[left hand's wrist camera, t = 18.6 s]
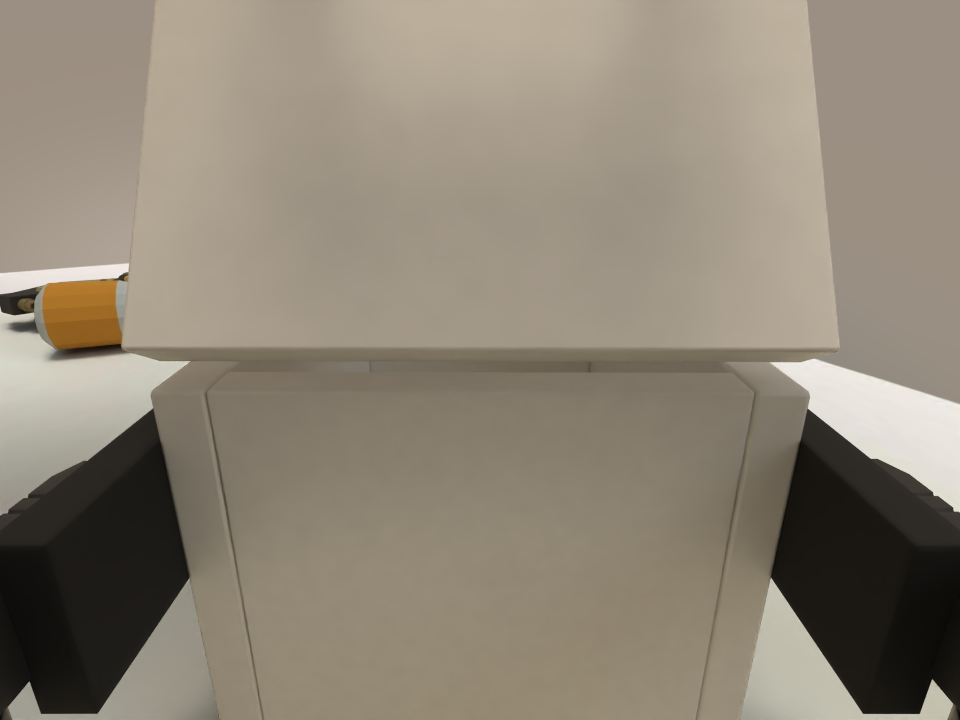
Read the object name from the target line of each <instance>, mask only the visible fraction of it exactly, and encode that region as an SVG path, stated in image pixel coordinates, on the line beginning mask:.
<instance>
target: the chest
mask: <svg viewBox="0 0 960 720" xmlns="http://www.w3.org/2000/svg"><path fill="white" fill-rule="evenodd" d="M151 399H152V404H153V409H154V413H155V418H156V423H157V427H158V432H159V437H160V442H161V446H162V451H163V456H164V460H165V465H166V470H167V475H168V479H169V484H170V489H171V493H172V498H173V503H174V507H175V512H176V517H177V521H178V526H179V531H180V535H181V540H182V545H183V549H184V554H185V559H186V563H187V568H188V573H189V578H190V583H191V588H192V592H193V597H194V602H195V606H196V611H197V616H198V621H199V625H200V630H201V635H202V639H203V644H204V649H205V654H206V658H207V663H208V668H209V672H210V677H211V682H212V686H213V691H214V696H215V701H216V705H217V710H218V715H219V719H220V720H740V716H741V712H742V707H743V703H744V698H745V693H746V689H747V684H748V680H749V675H750V670H751V666H752V661H753V657H754V652H755V647H756V643H757V638H758V634H759V629H760V624H761V620H762V615H763V611H764V606H765V601H766V597H767V592H768V588H769V583H770V578H771V574H772V569H773V565H774V560H775V555H776V551H777V546H778V542H779V537H780V532H781V528H782V523H783V519H784V514H785V509H786V505H787V500H788V496H789V491H790V486H791V482H792V477H793V473H794V468H795V463H796V459H797V454H798V449H799V445H800V440H801V436H802V431H803V426H804V422H805V417H806V413H807V408H808V403H809V399H810V395H809V392H808V391H807V390H806V389H804V388H803V387H802V386H800V385H799V384H798V383H796V382H795V381H794V380H792V379H791V378H790V377H788V376H787V375H786V374H784V373H783V372H782V371H780V370H779V369H778V368H776V367H775V366H774V365H772V364H771V363H770V362H466V361H191V362H190V363H188V364H187V365H186V366H184V367H183V368H182V369H180V370H179V371H178V372H176V373H175V374H174V375H172V376H171V377H170V378H168V379H167V380H166V381H164V382H163V383H162V384H160V385H159V386H158V387H156V388H155V389H154V390H152V392H151Z"/></svg>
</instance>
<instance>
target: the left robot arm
mask: <svg viewBox="0 0 960 720" xmlns="http://www.w3.org/2000/svg"><path fill="white" fill-rule="evenodd" d="M8 511H9V512H8V514H2V515H1V516H0V720H12V717H11V715H10V712H9V709H8V706H9V705H10V703H11V702H12V701H13V700H14V699H15V698H16V696H17V695H18V694H19V693H20V692H21V690H22V689H23V688H24V687H25V686H26V685H27V683H28V682H29V681H30V684H31V686H32V689H33V692H34V695H35V698H36V701H37V703H38V706H39V709H40V712H41V714H98V712H99V711H100V709H101V708H102V706H103V705H104V703H105V702H106V700H107V699H108V697H109V696H110V694H111V693H112V691H113V690H114V688H115V687H116V686H117V684H118V683H119V681H120V680H121V678H122V677H123V675H124V674H125V672H126V671H127V669H128V668H129V666H130V665H131V663H132V662H133V660H134V659H135V657H136V656H137V654H138V653H139V651H140V650H141V649H142V647H143V646H144V644H145V643H146V641H147V640H148V638H149V637H150V635H151V634H152V632H153V631H154V629H155V628H156V626H157V625H158V623H159V622H160V620H161V619H162V617H163V616H164V614H165V613H166V612H167V610H168V609H169V607H170V606H171V604H172V603H173V601H174V600H175V598H176V597H177V595H178V594H179V592H180V591H181V589H182V588H183V586H184V585H185V583H186V582H187V580H188V579H189V573H188V568H187V563H186V559H185V554H184V549H183V545H182V540H181V535H180V531H179V526H178V521H177V517H176V512H175V507H174V503H173V498H172V493H171V489H170V484H169V479H168V475H167V470H166V465H165V460H164V456H163V451H162V446H161V442H160V437H159V432H158V427H157V423H156V418H155V413H154V409H152V410H151V411H149V412H148V413H147V414H146V415H144V416H143V417H142V418H141V419H139V420H138V421H137V422H136V423H134V424H133V425H132V426H131V427H129V428H128V429H127V430H126V431H124V432H123V433H122V434H121V435H119V436H118V437H117V438H116V439H114V440H113V441H112V442H111V443H109V444H108V445H107V446H106V447H104V448H103V449H102V450H101V451H99V452H98V453H97V454H96V455H94V456H93V457H92V458H91V459H89V460H88V461H83V462H81V463H79V464H76V465H74V466H72V467H70V468H68V469H66V470H64V471H62V472H60V473H58V474H56V475H54V476H52V477H51V478H49V479H48V480H47V481H45V482H44V483H43V484H42V485H40V486H39V487H38V488H36V489H35V490H34V491H32V492H31V493H30V494H28V498H23V499H22V500H21V501H19V502H18V503H17V504H15V505H14V506H13V507H12V508H10V509H9V510H8ZM771 578H772V579H773V581H774V582H775V584H776V585H777V587H778V588H779V590H780V591H781V593H782V594H783V596H784V597H785V599H786V600H787V602H788V603H789V605H790V606H791V608H792V609H793V611H794V612H795V614H796V615H797V616H798V618H799V619H800V621H801V622H802V624H803V625H804V627H805V628H806V630H807V631H808V633H809V634H810V636H811V637H812V639H813V640H814V642H815V643H816V645H817V646H818V648H819V649H820V651H821V652H822V653H823V655H824V656H825V658H826V659H827V661H828V662H829V664H830V665H831V667H832V668H833V670H834V671H835V673H836V674H837V676H838V677H839V679H840V680H841V682H842V683H843V685H844V686H845V688H846V689H847V690H848V692H849V693H850V695H851V696H852V698H853V699H854V701H855V702H856V704H857V705H858V707H859V708H860V710H861V711H862V713H863V714H920V711H921V709H922V706H923V703H924V700H925V697H926V695H927V692H928V689H929V686H930V683H931V681H932V679H933V680H934V682H935V683H936V684H937V685H938V686H939V687H940V689H941V690H942V691H943V692H944V693H945V695H946V696H947V697H948V698H949V699H950V700H951V702H952V703H953V707H952V709H951V712H950V715H949V717H948V720H960V513H959V512H954V511H953V507H952V506H950V505H949V504H948V503H946V502H945V501H944V500H942V499H941V498H940V497H938V496H934V495H933V492H932V491H931V490H929V489H928V488H927V487H925V486H924V485H923V484H921V483H920V482H919V481H917V480H916V479H915V478H913V477H912V476H911V475H910V474H908V473H906V472H903V471H901V470H899V469H897V468H895V467H893V466H891V465H889V464H887V463H885V462H883V461H881V460H879V459H870V458H869V457H868V456H866V455H865V454H864V453H863V452H861V451H860V450H859V449H858V448H856V447H855V446H854V445H853V444H851V443H850V442H849V441H848V440H846V439H845V438H844V437H843V436H841V435H840V434H839V433H838V432H836V431H835V430H834V429H833V428H831V427H830V426H829V425H828V424H826V423H825V422H824V421H823V420H821V419H820V418H819V417H818V416H816V415H815V414H814V413H812V412H811V411H810V410H809V409H807V413H806V417H805V422H804V426H803V431H802V436H801V440H800V445H799V449H798V454H797V459H796V463H795V468H794V473H793V477H792V482H791V486H790V491H789V496H788V500H787V505H786V509H785V514H784V519H783V523H782V528H781V532H780V537H779V542H778V546H777V551H776V555H775V560H774V565H773V569H772V574H771Z"/></svg>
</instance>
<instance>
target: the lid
mask: <svg viewBox="0 0 960 720" xmlns="http://www.w3.org/2000/svg"><path fill="white" fill-rule="evenodd" d="M121 347H122V349H123V350H125V351H127V352H131V353H134V354H138V355H141V356H145V357H148V358H152V359H155V360H159V361H466V362H803V361H806V360H810V359H813V358H817V357H820V356H824V355H828V354H831V353H835V352H837V351H839V348H840V343H839V332H838V322H837V311H836V301H835V290H834V280H833V270H832V260H831V249H830V238H829V228H828V217H827V207H826V197H825V186H824V176H823V165H822V155H821V144H820V134H819V124H818V113H817V103H816V92H815V82H814V72H813V61H812V51H811V40H810V30H809V19H808V9H807V0H155V9H154V19H153V30H152V40H151V50H150V60H149V70H148V80H147V90H146V100H145V110H144V121H143V131H142V141H141V151H140V161H139V171H138V181H137V191H136V201H135V211H134V222H133V232H132V242H131V252H130V262H129V272H128V282H127V292H126V302H125V312H124V323H123V333H122V343H121Z"/></svg>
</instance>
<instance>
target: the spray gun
mask: <svg viewBox="0 0 960 720" xmlns="http://www.w3.org/2000/svg"><path fill="white" fill-rule="evenodd" d="M127 282H128V272H126V273H123V274H122V275H121V276H119V278H116V279H100V280H86V281H71V282H58V283H48V284H46V285H44V286H40V287H35V288H31V289H27V290H23V291H18V292H14V293H8V294H0V307H1V311H2V312H3V313H7V314H11V315H20V314H27V313H33V312H34V315H35V323H36V327H37V330H38V332H39V334H40V336H41V338H42V339H43V340H44V341H45V342H47V343H48V344H49V345H51V346H52V347H53V348H55V349H58V350H61V349H71V348H82V347H92V346H102V345H113V344H121V343H122V333H123V323H124V312H125V302H126V292H127Z"/></svg>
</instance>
